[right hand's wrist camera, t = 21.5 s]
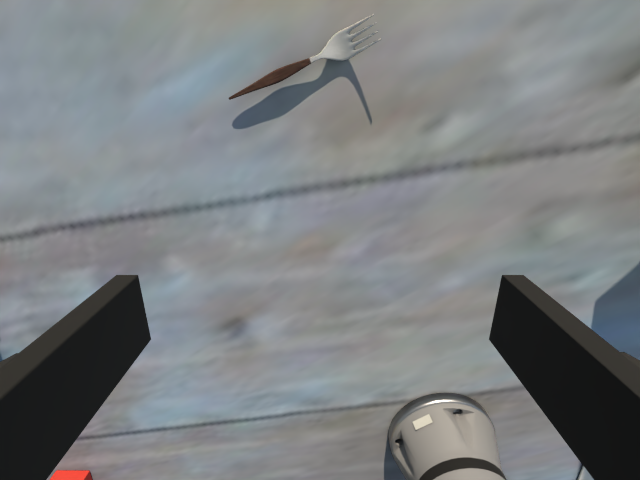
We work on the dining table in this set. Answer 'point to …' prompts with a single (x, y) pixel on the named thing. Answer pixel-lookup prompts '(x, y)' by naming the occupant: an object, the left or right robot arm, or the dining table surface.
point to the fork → (317, 57)
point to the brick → (71, 475)
